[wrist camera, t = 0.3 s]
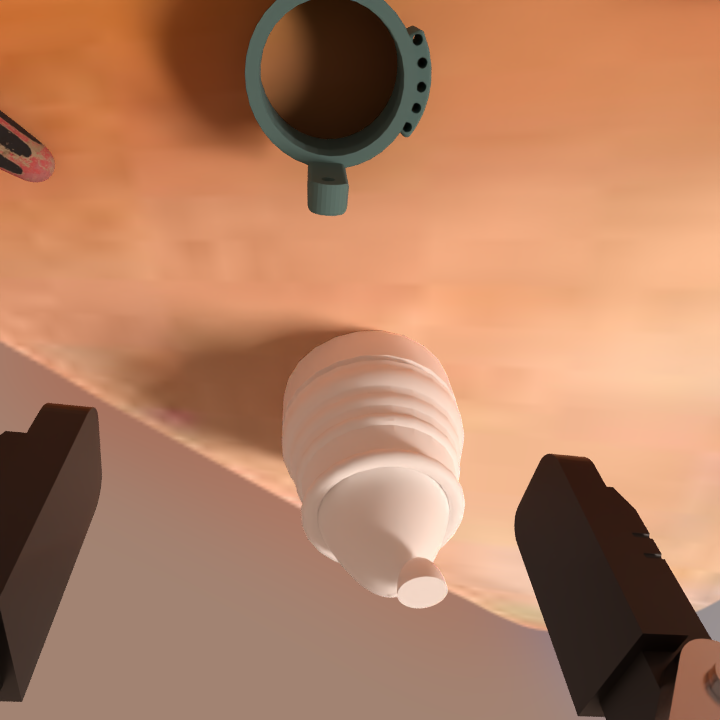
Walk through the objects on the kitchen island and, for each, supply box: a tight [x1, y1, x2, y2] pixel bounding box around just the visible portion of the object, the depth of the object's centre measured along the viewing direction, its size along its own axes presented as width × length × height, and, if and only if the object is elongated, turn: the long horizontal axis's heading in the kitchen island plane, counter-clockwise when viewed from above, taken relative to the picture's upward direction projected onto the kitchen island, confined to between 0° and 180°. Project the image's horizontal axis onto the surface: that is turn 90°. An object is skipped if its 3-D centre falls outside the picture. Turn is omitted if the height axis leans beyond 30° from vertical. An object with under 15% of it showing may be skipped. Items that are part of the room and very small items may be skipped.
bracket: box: [245, 0, 431, 216], centre depth 29 cm, size 9×9×9 cm
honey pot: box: [282, 331, 465, 608], centre depth 38 cm, size 13×13×18 cm
